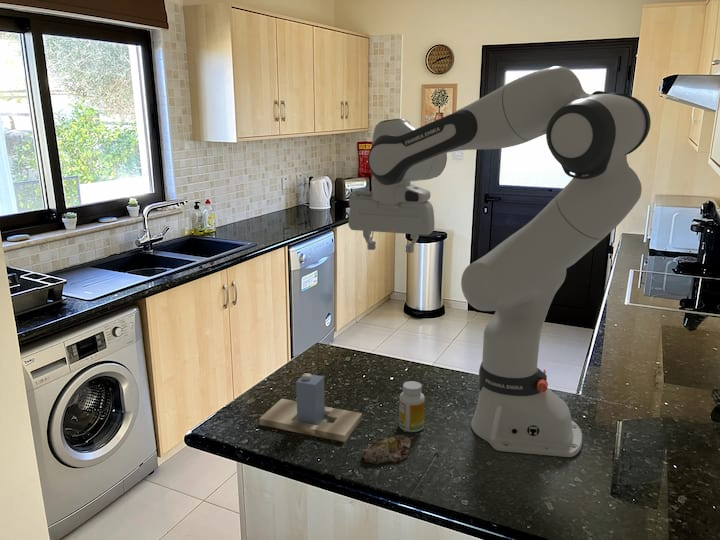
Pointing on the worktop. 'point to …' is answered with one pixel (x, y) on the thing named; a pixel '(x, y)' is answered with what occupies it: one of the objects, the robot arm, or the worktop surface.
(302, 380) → the block
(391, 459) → the mineral rock
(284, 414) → the board
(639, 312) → the worktop surface
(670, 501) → the worktop surface
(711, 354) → the worktop surface
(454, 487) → the worktop surface
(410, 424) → the supplement bottle
